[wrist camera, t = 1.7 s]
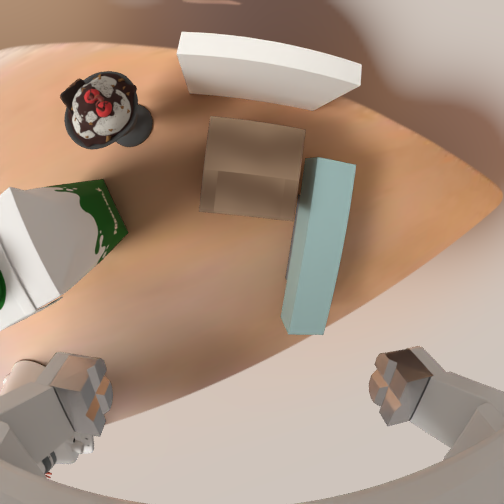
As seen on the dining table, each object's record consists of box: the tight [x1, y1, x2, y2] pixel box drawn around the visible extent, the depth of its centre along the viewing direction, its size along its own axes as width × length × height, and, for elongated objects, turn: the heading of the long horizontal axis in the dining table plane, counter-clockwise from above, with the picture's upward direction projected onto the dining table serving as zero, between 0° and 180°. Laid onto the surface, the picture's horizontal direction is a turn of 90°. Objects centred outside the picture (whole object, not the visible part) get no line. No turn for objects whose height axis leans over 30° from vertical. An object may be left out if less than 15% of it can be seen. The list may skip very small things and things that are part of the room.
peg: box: [281, 157, 356, 335], centre depth 30 cm, size 18×4×4 cm, turn 173°
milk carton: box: [0, 179, 128, 331], centre depth 21 cm, size 9×9×20 cm
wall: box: [177, 32, 362, 111], centre depth 24 cm, size 2×14×12 cm, turn 83°
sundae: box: [60, 71, 152, 149], centre depth 22 cm, size 7×7×15 cm
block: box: [199, 116, 306, 221], centre depth 28 cm, size 8×8×8 cm
